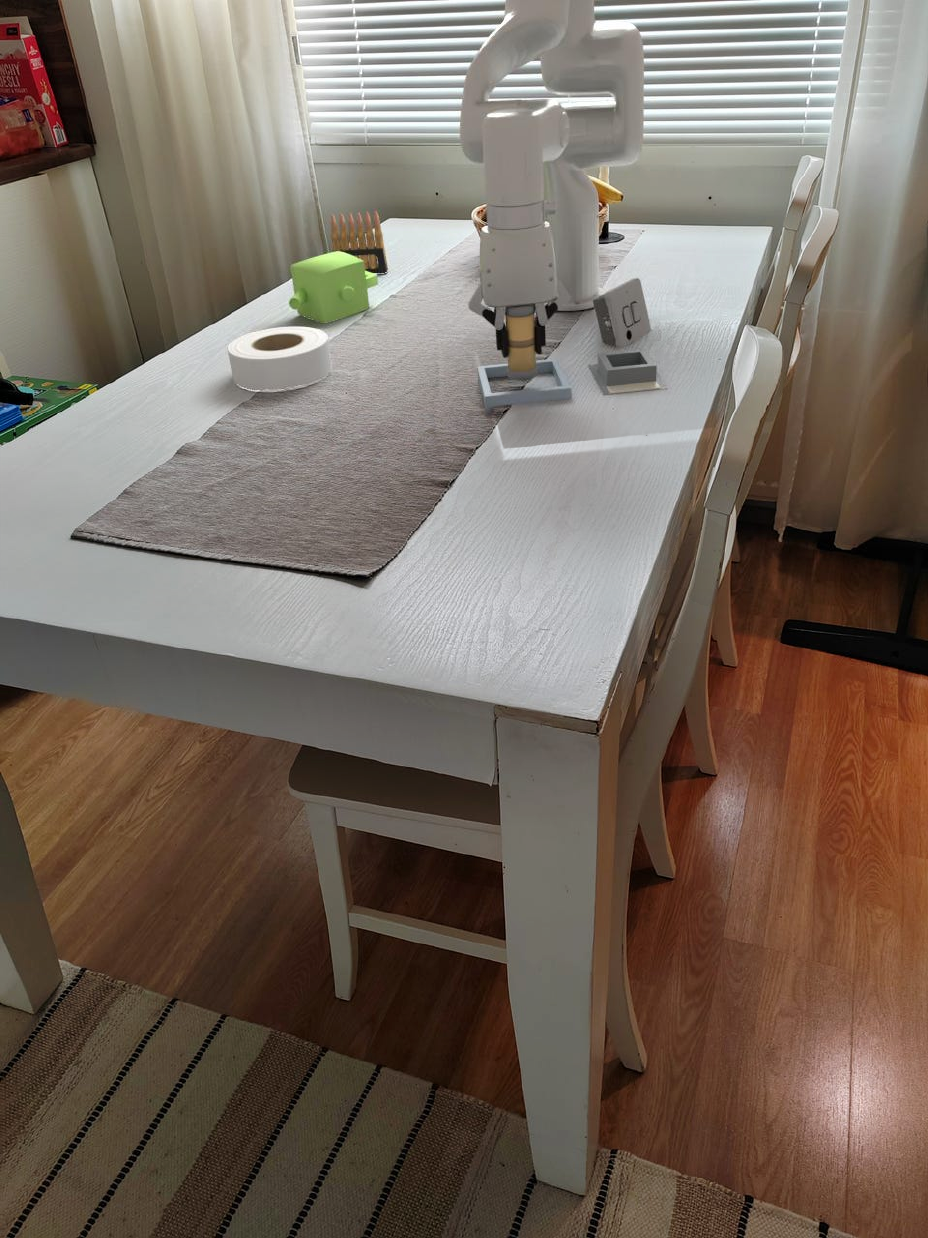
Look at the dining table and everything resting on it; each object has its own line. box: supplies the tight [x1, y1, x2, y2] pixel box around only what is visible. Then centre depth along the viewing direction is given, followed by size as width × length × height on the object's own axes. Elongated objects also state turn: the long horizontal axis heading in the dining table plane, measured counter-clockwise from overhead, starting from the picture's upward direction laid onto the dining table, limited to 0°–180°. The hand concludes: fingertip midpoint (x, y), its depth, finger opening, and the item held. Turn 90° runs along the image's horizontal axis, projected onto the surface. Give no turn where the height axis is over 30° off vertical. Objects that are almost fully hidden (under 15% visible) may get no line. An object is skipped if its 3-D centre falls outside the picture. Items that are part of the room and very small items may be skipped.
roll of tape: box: [227, 326, 333, 390], centre depth 155 cm, size 16×16×6 cm
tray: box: [476, 357, 572, 414], centre depth 141 cm, size 12×12×2 cm
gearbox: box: [288, 251, 379, 324], centre depth 178 cm, size 18×10×10 cm, turn 130°
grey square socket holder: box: [587, 348, 668, 396], centre depth 141 cm, size 12×9×4 cm
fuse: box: [504, 304, 538, 381], centre depth 137 cm, size 4×4×10 cm
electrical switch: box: [593, 277, 652, 349], centre depth 154 cm, size 9×5×9 cm, turn 141°
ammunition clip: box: [330, 210, 389, 273], centre depth 199 cm, size 11×2×12 cm, turn 85°
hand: (521, 351), depth 139 cm, fingers closed on fuse, 4 cm apart
